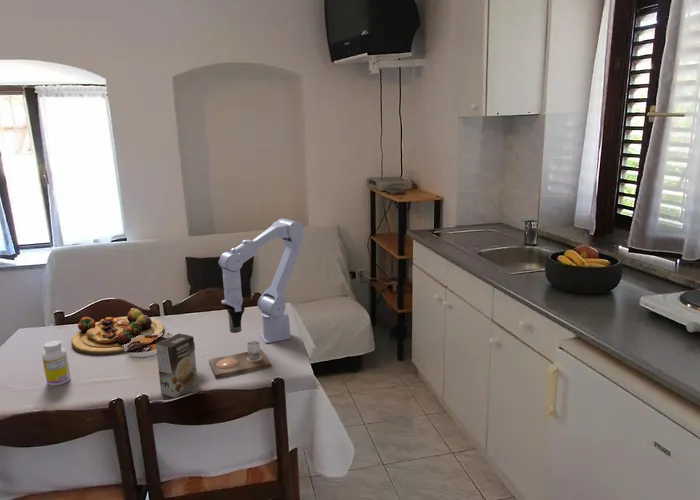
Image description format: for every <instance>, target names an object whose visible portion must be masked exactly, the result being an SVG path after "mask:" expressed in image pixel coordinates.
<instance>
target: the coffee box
mask: <svg viewBox="0 0 700 500" xmlns="http://www.w3.org/2000/svg"><path fill="white" fill-rule="evenodd" d="M194 339H195V338H194V336H192V335H188V334H186V333H185V334H184V333H177V334H174V335H172V336H169V337H167V338H165V339H163V340H161V341H158V342H156V343H155V349H156V359H157V367H158V377H159V385H160V386H159V387H160V393H161V394H164V395H165V396H168V397H171V398H177V397H179V396H182V395H183V394H184V393H186V392H188V391H190V390H191V389H193V388H195V387H197V386H198V385H199V384H198V383H199V382H198V374H197V373H198V372H197V362H196V352H195V351H196V348H195V349H194V342H195V340H194Z"/></svg>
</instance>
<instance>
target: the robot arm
mask: <svg viewBox="0 0 700 500" xmlns="http://www.w3.org/2000/svg"><path fill="white" fill-rule="evenodd" d="M305 233H306V230H305V228H304V226H303V224H302V223H301V222H300V221H296V220H292V219H287V218H285V217H282V218H279V219H278V220H276V221H274V222H273V223H272V225H271V226H269V227H268V228H267V229H265V230H264V231H262V232H261V234H259V235H258V236H256V237H255V238H253V239H252V240H251V239H243V240H242V241H241V243H240V244H238V245H237V246H236V247H233V248H231V249H230V251H225V252H223V253H222V254H221V255H220V257H219V260H217V262H218V265H219V267H220V268H221V271H222V282H223V293H224V299H222V300H221V301H220V302H221V304H222V305H223V306H224V307H225V308H226V311H227V313H228V312H229V314H230V316H231V319H232V324H233V326H234V328H236V327H240V325H241V326H242V318H243V314H244V312H245V307H244V306H242V304H243V302H244V300H243V299H244V298H243V295H242V279H241V269H242V267H243V265H244V263H246V262H247V261H248V260H250V259H251V258H252V257H254V256H256V255H257V254H258V252H259V249H260V248H261V247H263V246H265V245H266V244H269V242H271V241H273V240H275V239H277V238H279V239H280V238H281V239H282V241H283V244H284V245H285V249H284V251H283V254H282V256H281V259H280V262H279V264H278V266H277V268H276V269H277V270H276V272H275V274H274V277H273V279H272V281H271V284H270V287H267V288H266V289H264V292H263V293H262V295H261V296H260V297H258V300H257V308H258V309H259V310H260V313H261V319H262V320H261V322H262V333H261V334H260V335H259V336H260V337H261V339H262V340H263V341H264V343H265V344H269V343H270V344H271V343H275V342H281V341H285V340H290V339H292V337H291V325H290V318H289V314H288V313H287V312H286V304H287V300H288V298H287V296H286V293H285V291H286V290H287V286H288V285H289V282H290V280H291V279H290V278H291V277H292V274H293V271H294V269H295V268H296V267H295V266H296V264H297V261H298V259H299V256H300V253H301V252H302V249H303V243H304V242H303V238H304V236H305Z"/></svg>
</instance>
